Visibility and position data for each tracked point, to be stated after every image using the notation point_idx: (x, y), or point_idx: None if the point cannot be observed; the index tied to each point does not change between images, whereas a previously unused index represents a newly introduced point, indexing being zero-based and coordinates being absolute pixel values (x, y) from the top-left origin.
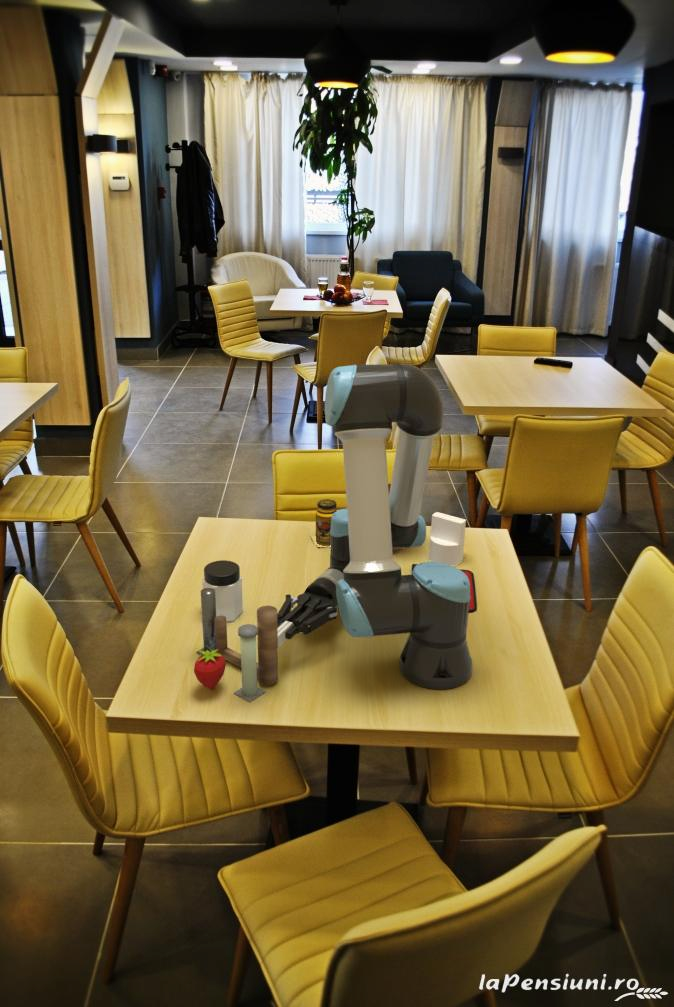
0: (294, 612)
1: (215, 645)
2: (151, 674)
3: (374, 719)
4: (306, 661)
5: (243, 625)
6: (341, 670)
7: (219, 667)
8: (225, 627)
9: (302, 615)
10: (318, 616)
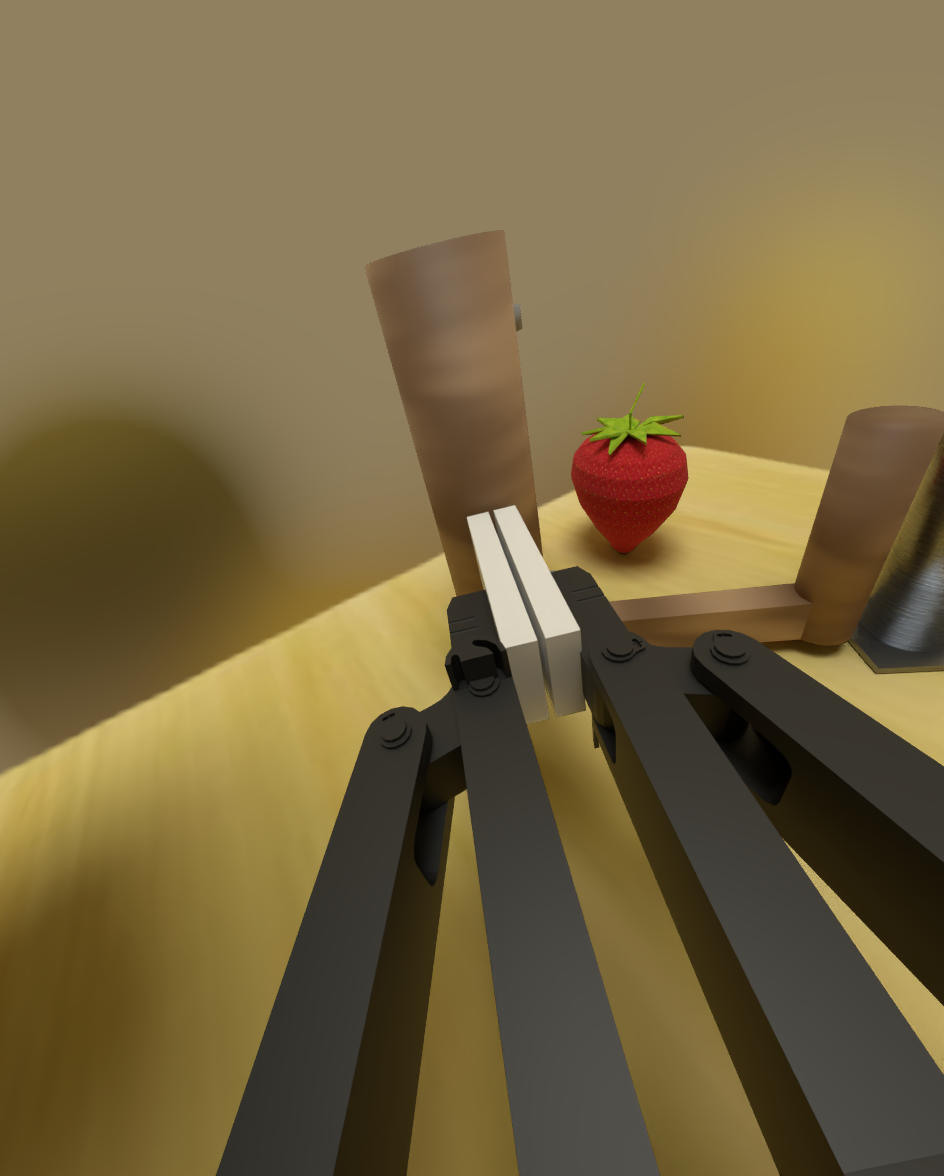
0: (693, 828)
1: (881, 594)
2: (812, 491)
3: (74, 755)
4: (484, 919)
5: (513, 306)
6: (231, 999)
7: (575, 462)
8: (839, 479)
9: (534, 841)
10: (297, 1023)
